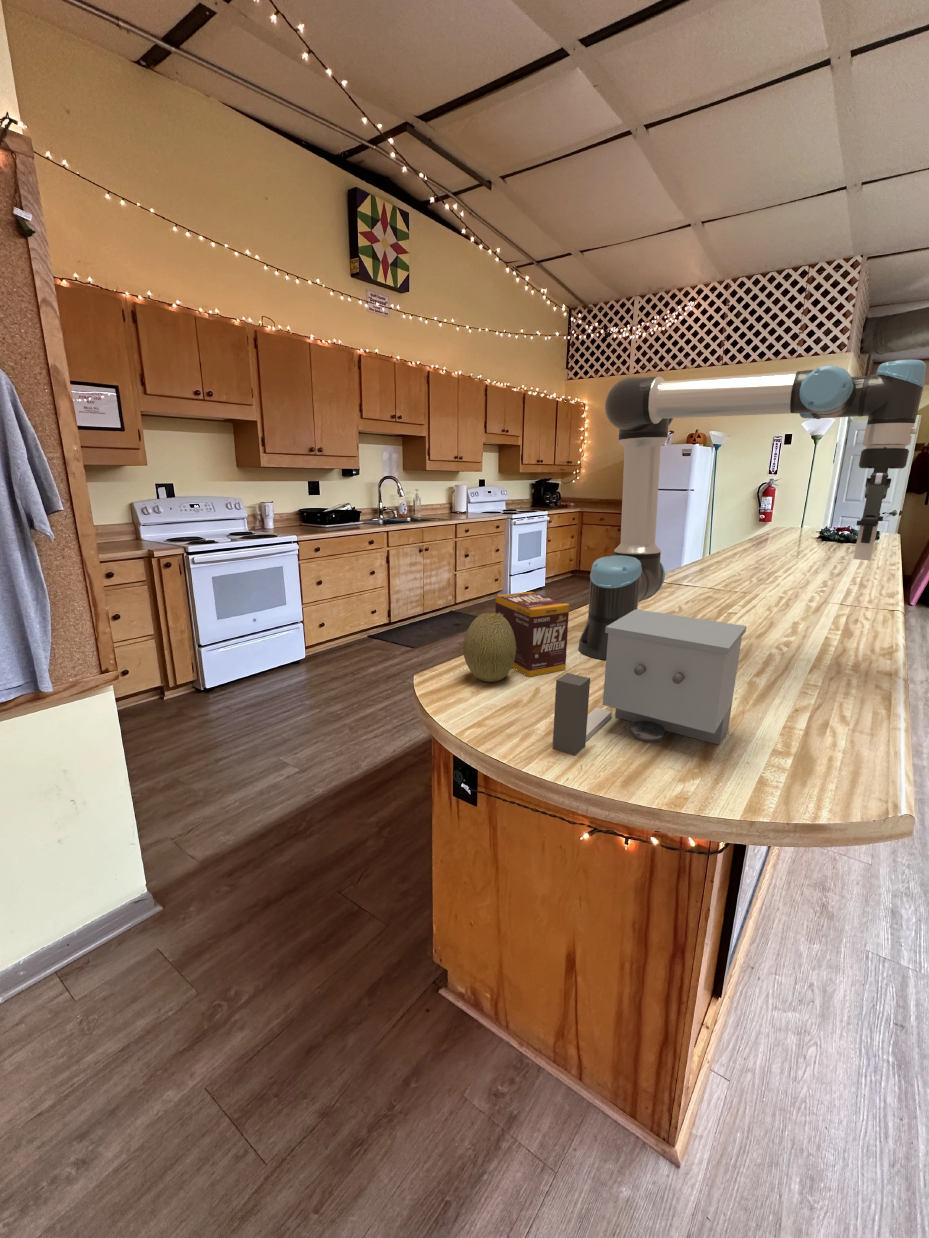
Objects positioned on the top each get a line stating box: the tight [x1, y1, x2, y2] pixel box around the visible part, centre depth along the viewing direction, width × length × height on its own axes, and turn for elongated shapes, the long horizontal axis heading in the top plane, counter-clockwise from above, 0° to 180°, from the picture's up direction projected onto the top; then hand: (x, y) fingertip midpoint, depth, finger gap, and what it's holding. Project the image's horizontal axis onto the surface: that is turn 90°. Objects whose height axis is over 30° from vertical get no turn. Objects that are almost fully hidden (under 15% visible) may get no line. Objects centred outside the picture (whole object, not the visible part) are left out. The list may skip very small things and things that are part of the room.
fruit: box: [462, 612, 516, 683], centre depth 116 cm, size 11×11×15 cm
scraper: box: [552, 672, 613, 757], centre depth 93 cm, size 4×17×12 cm, turn 144°
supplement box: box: [494, 591, 570, 678], centre depth 126 cm, size 10×15×16 cm
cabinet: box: [602, 609, 747, 746], centre depth 92 cm, size 19×16×19 cm
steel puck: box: [630, 721, 665, 744], centre depth 94 cm, size 6×6×2 cm
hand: (863, 555), depth 112 cm, fingers open, 13 cm apart
